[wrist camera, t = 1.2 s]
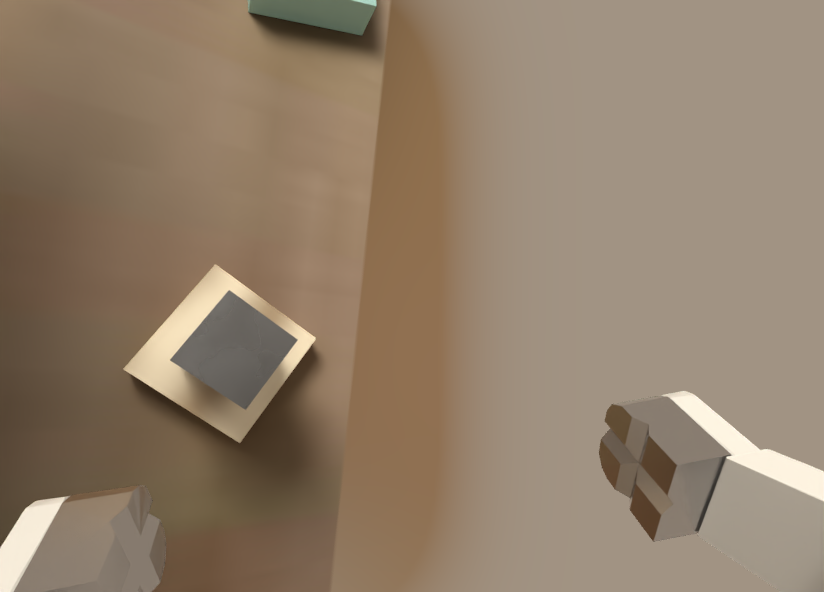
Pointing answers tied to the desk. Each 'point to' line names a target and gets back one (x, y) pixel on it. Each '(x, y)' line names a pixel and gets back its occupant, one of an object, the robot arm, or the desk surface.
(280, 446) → the desk surface
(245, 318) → the block
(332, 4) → the stand
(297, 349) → the stand
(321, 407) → the desk surface
